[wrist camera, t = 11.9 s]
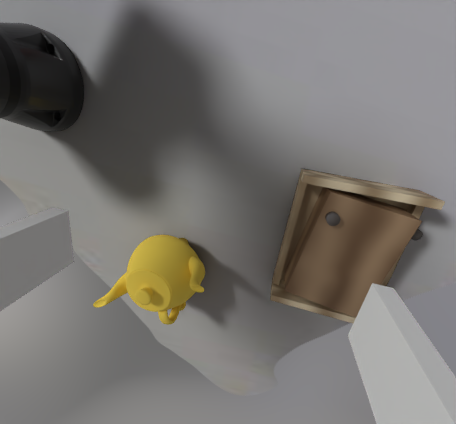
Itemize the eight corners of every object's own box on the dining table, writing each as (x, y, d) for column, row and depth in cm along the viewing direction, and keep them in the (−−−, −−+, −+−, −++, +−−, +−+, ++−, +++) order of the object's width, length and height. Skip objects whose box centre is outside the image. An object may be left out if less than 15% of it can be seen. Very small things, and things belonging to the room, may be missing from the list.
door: (284, 272, 40) (284, 295, 34) (324, 183, 34) (332, 193, 28) (349, 296, 39) (360, 323, 33) (402, 208, 33) (426, 224, 27)
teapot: (149, 301, 50) (113, 346, 40) (120, 239, 47) (72, 271, 36) (237, 288, 44) (222, 338, 34) (211, 216, 41) (185, 246, 30)
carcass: (272, 279, 42) (270, 300, 37) (301, 168, 35) (304, 175, 30) (368, 305, 39) (380, 330, 34) (421, 190, 32) (446, 202, 27)
